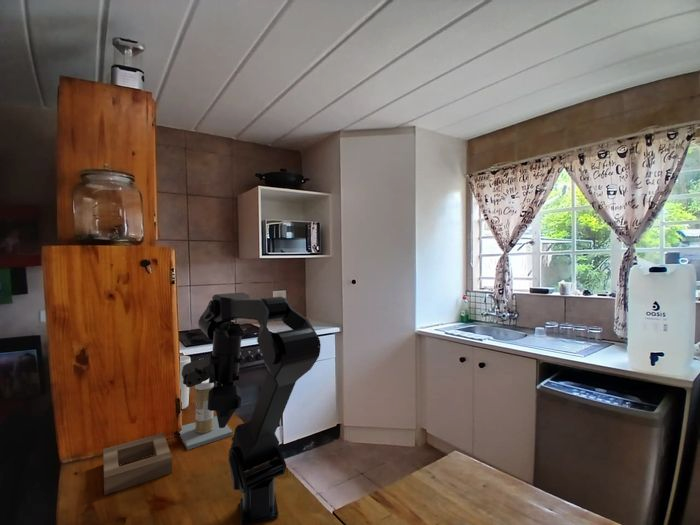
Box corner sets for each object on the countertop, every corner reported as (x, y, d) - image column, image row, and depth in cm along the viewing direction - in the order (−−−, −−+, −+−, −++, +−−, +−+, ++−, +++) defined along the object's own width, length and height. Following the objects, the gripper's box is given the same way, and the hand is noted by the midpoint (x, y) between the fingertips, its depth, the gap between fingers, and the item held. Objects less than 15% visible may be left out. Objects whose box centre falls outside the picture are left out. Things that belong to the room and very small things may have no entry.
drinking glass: (181, 413, 102) (180, 363, 102) (161, 411, 104) (160, 361, 103) (195, 403, 109) (195, 356, 108) (176, 401, 110) (176, 354, 110)
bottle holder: (172, 472, 76) (172, 457, 75) (104, 495, 69) (104, 477, 68) (163, 446, 85) (163, 432, 85) (103, 464, 78) (103, 448, 78)
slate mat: (232, 435, 91) (232, 431, 91) (187, 450, 84) (187, 446, 84) (218, 418, 99) (218, 415, 99) (176, 431, 93) (176, 427, 93)
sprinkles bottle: (191, 429, 91) (191, 379, 91) (208, 423, 95) (208, 374, 94) (200, 436, 88) (199, 384, 88) (217, 429, 92) (217, 379, 91)
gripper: (189, 332, 81) (186, 393, 84) (180, 372, 64) (177, 448, 67) (239, 332, 85) (235, 390, 88) (243, 369, 68) (238, 440, 71)
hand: (221, 414), depth 78 cm, fingers open, 9 cm apart
